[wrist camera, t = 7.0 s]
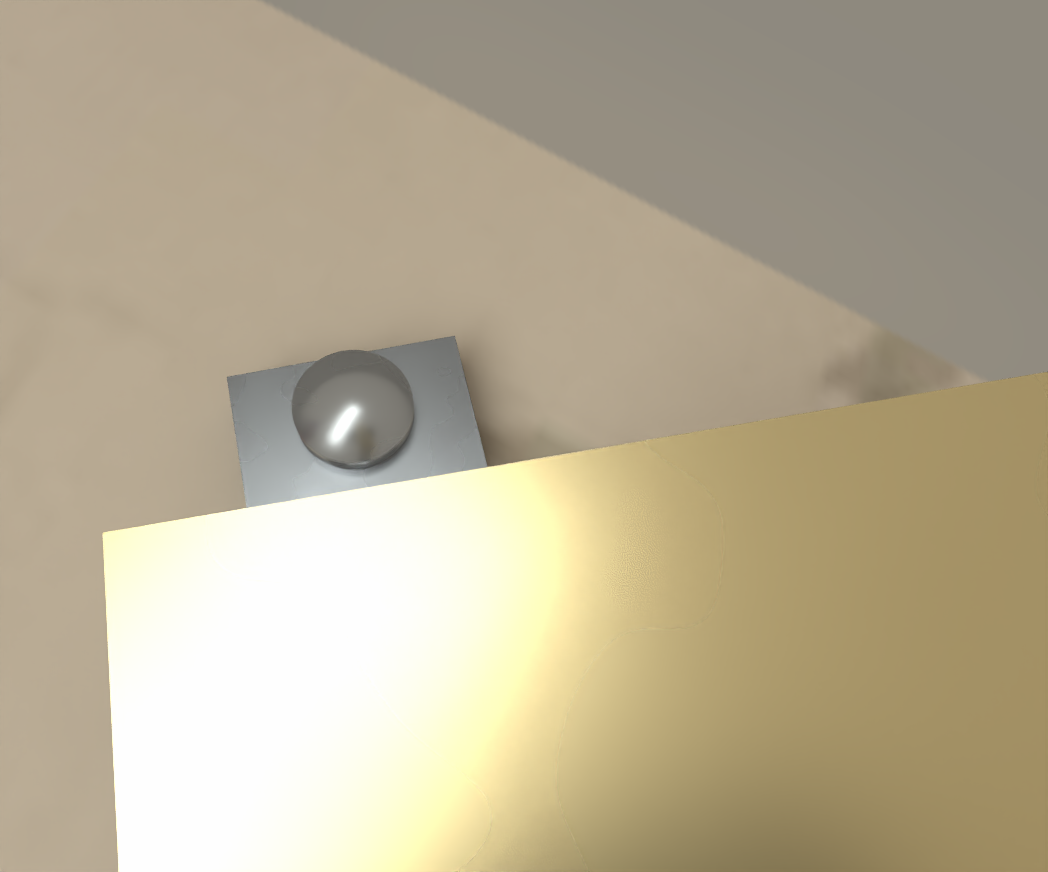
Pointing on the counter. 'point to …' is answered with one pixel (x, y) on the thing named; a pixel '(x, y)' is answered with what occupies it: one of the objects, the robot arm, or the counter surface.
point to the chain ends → (354, 422)
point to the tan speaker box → (609, 658)
